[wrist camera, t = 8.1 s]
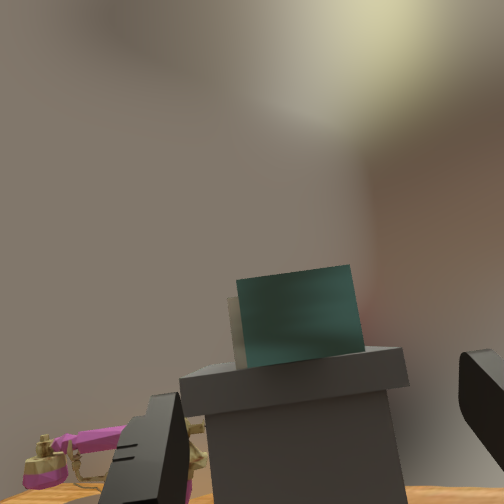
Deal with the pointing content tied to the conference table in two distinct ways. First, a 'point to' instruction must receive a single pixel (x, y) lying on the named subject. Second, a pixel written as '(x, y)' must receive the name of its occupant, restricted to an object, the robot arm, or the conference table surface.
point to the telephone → (55, 463)
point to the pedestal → (302, 429)
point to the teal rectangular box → (295, 317)
